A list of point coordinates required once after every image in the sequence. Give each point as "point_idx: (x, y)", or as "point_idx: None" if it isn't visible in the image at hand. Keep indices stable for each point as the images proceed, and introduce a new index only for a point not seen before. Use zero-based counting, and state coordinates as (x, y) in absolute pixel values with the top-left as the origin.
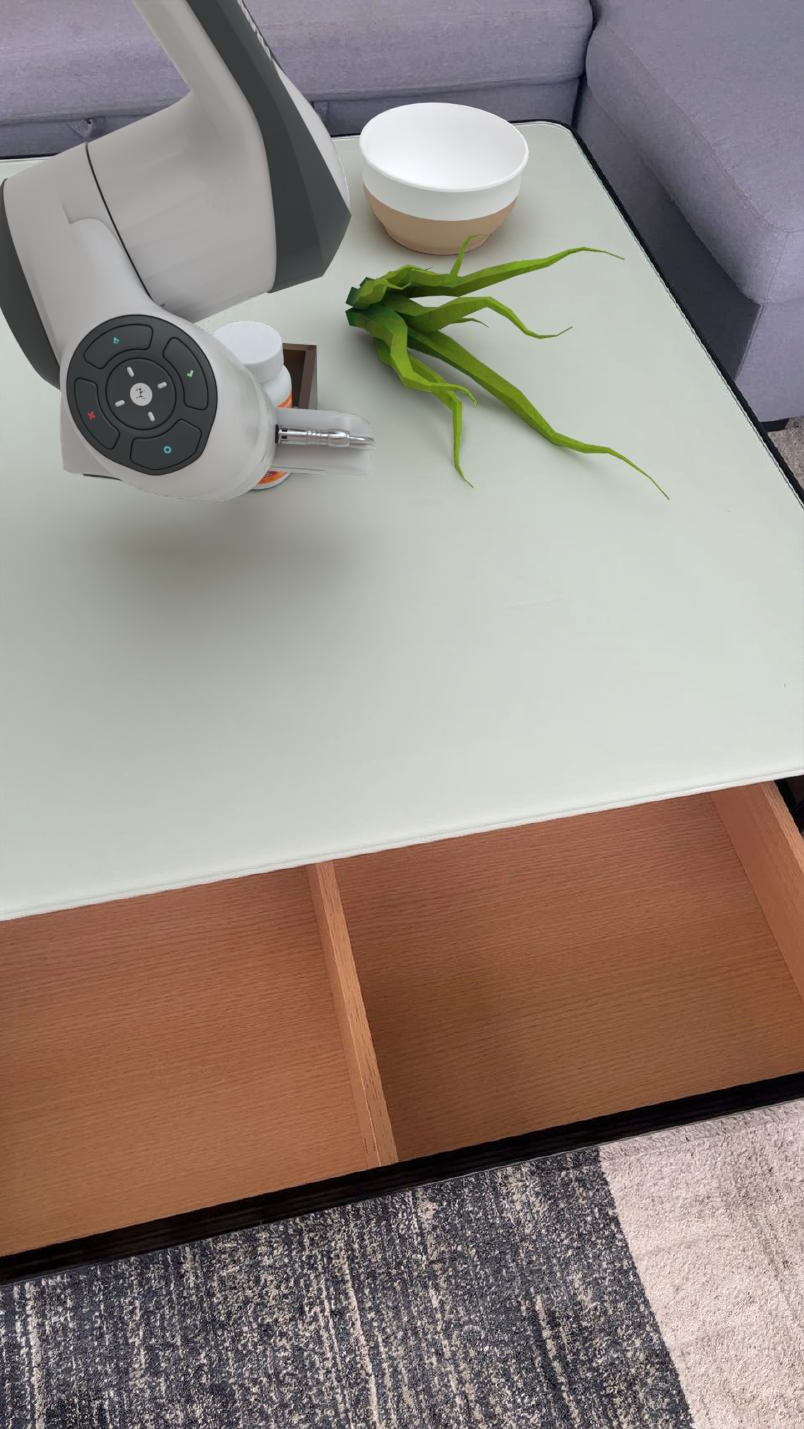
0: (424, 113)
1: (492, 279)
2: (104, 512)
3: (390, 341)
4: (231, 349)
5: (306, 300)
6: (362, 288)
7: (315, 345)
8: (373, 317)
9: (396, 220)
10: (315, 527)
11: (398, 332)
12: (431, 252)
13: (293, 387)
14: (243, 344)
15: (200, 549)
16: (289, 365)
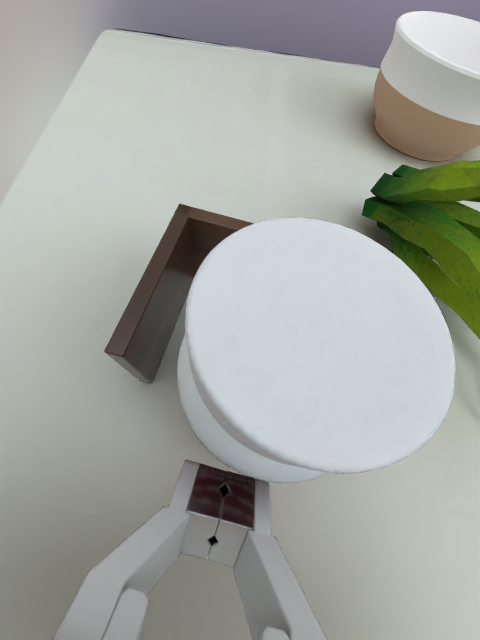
0: (442, 25)
1: None
2: (4, 471)
3: (449, 258)
4: (268, 349)
5: (313, 179)
6: (420, 177)
7: None
8: (415, 217)
9: (409, 116)
10: (320, 559)
11: (476, 252)
12: (416, 155)
13: None
14: (315, 326)
15: None
16: None
